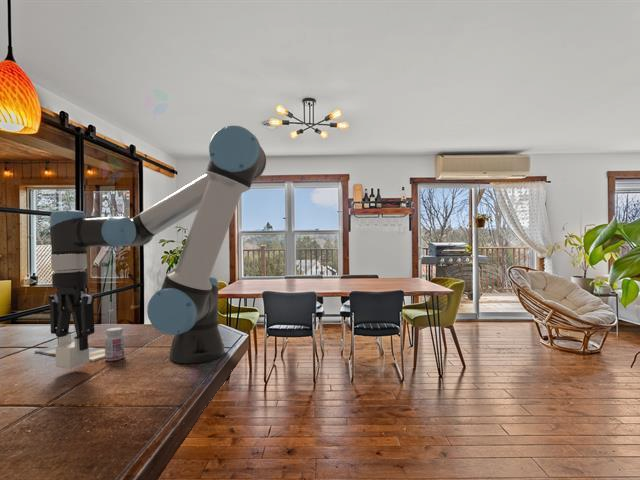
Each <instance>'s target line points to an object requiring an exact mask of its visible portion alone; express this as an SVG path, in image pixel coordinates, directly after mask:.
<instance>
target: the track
mask: <svg viewBox="0 0 640 480" xmlns="http://www.w3.org/2000/svg"><path fill="white" fill-rule="evenodd" d="M57 346H58V344H55V345H53V346H49V347H48V346H47V347H45V348H41V349H37V350H34V354H38V353H39V355H45V356H46V355H47V356H53V357H56V347H57ZM102 359H105V348H104V349H103V348H97V347H90V346H89V362H96V361H99V360H100V361H101V360H102Z"/></svg>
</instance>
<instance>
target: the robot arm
mask: <svg viewBox="0 0 640 480" xmlns="http://www.w3.org/2000/svg"><path fill="white" fill-rule="evenodd" d="M208 153H209V157H210V160H209V161H208V164H207V168H206V170H205V174H203V175H202V176H200V177H198V178H197V179H195V180H193V181H192V182H190V183H188V184H186V185H185V186H183V187H182V188H180V189H178V190H177V191H175V192H174V193H172V194H170V195H168V196H166V197H165V198H163V199H161V200H160V201H159V202H156V203H155V204H153V205H151V206H150V207H148V208H146V209H144V210H143V211H141V212H140V213H138V214H137V215H135V216H134V217H131V218H130V217H127V216H118V215H117V216H115V215H114V216H106V217H105V216H103V217H91V218H90V217H86V213H85V212H84V211H83V210H82V211H81V210H76V209H75V210H74V209H73V210H72V209H71V210H65V209H62V210H54V211H53V212H51V213H50V215H49V216H50V218H49V219H50V220H49V228H48V229H49V233H50V234H49V235H50V248H51V252H50V253H51V255H50V261H51V262H50V263H51V264H50V265H51V271H52V272H53V273H52V274H51V281H52V282H51V286H52V288H54V289H57V290H56V293H55V294H53V295H49V296H48V297H47V298H48V299H47V300H48V303H49V315H50V316H49V319H50V320H49V321H50V322H49V324H50V333H51V335H53V334H54V335H55V336H56V338H57V345H58V346H61V345H65V344H68V343H72V335H71V333H72V332H71V331H69V330H70V326H71V325H70V323H71V318H72V320H73V323H74V330H75V333H76V336H74V337H73V339H74V341H73V342H74V343H75V365H78V364H81V363H84V362H87V361H88V355H87V349H88V343H89V339H88V338H89V336H90V335H93V334H94V333H95V316H94V315H95V314H94V311H95V310H94V302H95V295H94V294H90V295H89V294H87V292H86V290H85V286H87V285H88V284H89V278H88V277H89V274H88V273H89V272H88V271H86V269H88V256H87V253H88V248H92V247H93V248H96V247H97V248H98V247H99V248H100V247H103V248H105V247H116V248H117V247H141V246H145V245H148V244H149V243H151V241H152V240H153V238H154V237H155V236H156V235H158V234H159V233H161V232H163V231H164V230H166V229H168V228H170V227H172V226H173V225H175V224H176V223H178V222H180V221H181V220H183V219H185V218H187V217H188V216H190V215H191V214H193V213H196V214H195V217H194V220H193V222H192V225H191V227H190V230H189V233H188V235H187V238H186V239H185V243H184V245H183V247H182V250H181V253H180V256H179V259H178V261H177V264H176V267H175V268H174V269H173V270H171V271H168V272H167V273H165V274H166V275H165V277H164V279H163V282H162V285H161V288H160V290H158V291H156V292H155V293H154V294H153V295H152V296H150V297H151V298H150V299H149V301H148V304H147V307H146V308H147V309H146V313H147V318H148V320H149V321H150V323H151V326H152V327H153V328H154V329H155V330H156V331H158V332H159V333H162V334H164V335H168V336H174V337H173V340H172V342H171V347H170V349H169V360H170V361H172V362H174V363H178V364H188V365H189V364H199V363H207V362H211V361H215V360H217V359H219V358H221V357H223V356H224V354H225V345H224V343H223V339H222V336H221V332H220V330H219V289H220V287H219V282H218V279H217V278H216V277H213V276H211V274H212V272H213V270H214V267H215V264H216V262H217V258H218V257H219V254H220V251H221V248H222V246H223V243H224V241H225V238H226V236H227V232H228V230H229V227H230V224H231V222H232V221H233V217H234V214H235V211H236V209H237V206H238V204H239V201H240V198H241V196H242V195H243V193H245V192H247V191H249V190H250V189H251V187H252V184H253V182H254V181H256V180H257V179H258V178H260V177H261V175H262V174H263V173H264V171H265V169H266V167H267V166H266V165H267V158H266V157H267V156H266V153H265V151H264V149H263V148H262V147H261V144H260V142H259V140H258V138H257V137H256V135H255V134H254V133H253V132H251V130H249V129H247V128H245V127H243V126H241V125H227V126H224V127H222V128H219V129H218V130H217V131H216V132H215V133H214V134H213V135H212V137H211V139H210V141H209V145H208Z"/></svg>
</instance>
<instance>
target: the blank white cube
mask: <svg viewBox="0 0 640 480" xmlns="http://www.w3.org/2000/svg"><path fill="white" fill-rule="evenodd" d="M89 347H90V343H89V342H88V349H87V355H88V361H87V362H84V363H81V364H78V365H75V343H74V341H71V343H68V344H65V345H61V346H57V347H56V356H55V367H56V368H62V369H73V368H76V367H79V366H82V365H85V364H87V363H90V361H89Z"/></svg>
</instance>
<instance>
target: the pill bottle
mask: <svg viewBox="0 0 640 480" xmlns="http://www.w3.org/2000/svg"><path fill="white" fill-rule="evenodd" d="M123 331H124V330H123V327H111V328H107V329H106V333H105V334H106V336H105V338H104V349H105V358H104V359H105V361H110V362H111V361H118V360H121V359H124V357H125V336H124V334H123V333H124V332H123Z"/></svg>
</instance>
